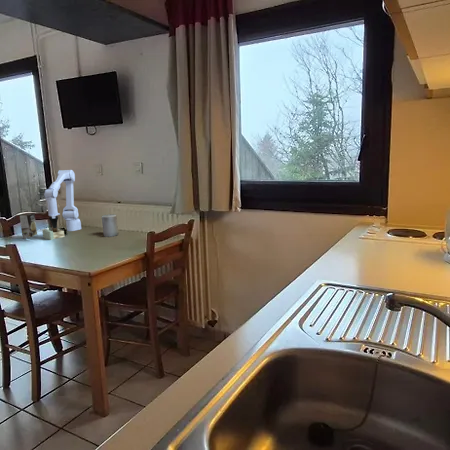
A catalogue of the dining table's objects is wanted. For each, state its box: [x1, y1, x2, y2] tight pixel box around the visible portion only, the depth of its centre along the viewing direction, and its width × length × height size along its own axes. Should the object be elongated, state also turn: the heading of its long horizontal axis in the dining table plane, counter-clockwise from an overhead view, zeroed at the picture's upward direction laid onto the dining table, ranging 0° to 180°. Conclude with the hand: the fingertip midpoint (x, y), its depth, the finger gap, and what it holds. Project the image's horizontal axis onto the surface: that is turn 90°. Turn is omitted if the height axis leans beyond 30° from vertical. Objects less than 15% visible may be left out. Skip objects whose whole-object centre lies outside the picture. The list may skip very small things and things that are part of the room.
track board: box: [41, 228, 54, 241], centre depth 275 cm, size 21×14×6 cm, turn 136°
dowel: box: [51, 225, 59, 232], centre depth 271 cm, size 3×3×9 cm
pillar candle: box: [101, 213, 119, 238], centre depth 276 cm, size 10×10×15 cm
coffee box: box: [19, 212, 38, 240], centre depth 280 cm, size 9×6×16 cm
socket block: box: [53, 229, 66, 239], centre depth 272 cm, size 8×8×4 cm
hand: (54, 227), depth 271 cm, fingers closed on dowel, 3 cm apart
